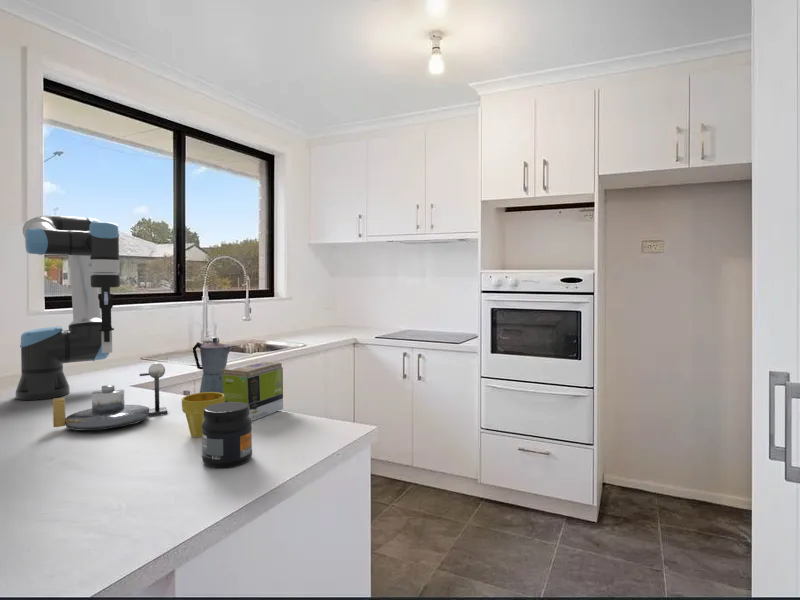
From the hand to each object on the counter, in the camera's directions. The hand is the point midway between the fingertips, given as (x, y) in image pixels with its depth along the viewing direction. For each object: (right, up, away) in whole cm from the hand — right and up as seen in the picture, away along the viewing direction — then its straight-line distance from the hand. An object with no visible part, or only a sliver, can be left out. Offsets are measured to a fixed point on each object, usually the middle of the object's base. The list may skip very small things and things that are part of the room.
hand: (107, 352), depth 148 cm
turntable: (+7, -17, -13) cm, 22 cm away
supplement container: (+50, -20, -40) cm, 67 cm away
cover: (+5, -16, -7) cm, 18 cm away
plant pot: (+38, -19, -21) cm, 47 cm away
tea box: (+45, -18, -2) cm, 49 cm away
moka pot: (+23, -17, +22) cm, 37 cm away
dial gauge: (+15, -18, -2) cm, 24 cm away
